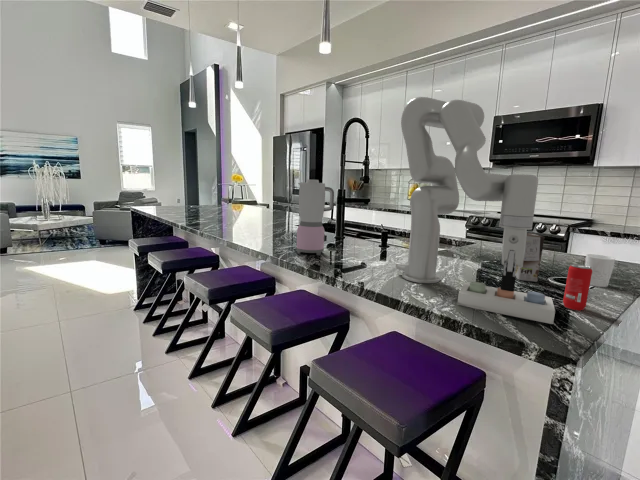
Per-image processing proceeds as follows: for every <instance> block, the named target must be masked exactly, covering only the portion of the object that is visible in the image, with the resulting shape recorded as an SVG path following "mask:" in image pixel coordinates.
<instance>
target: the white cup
mask: <svg viewBox="0 0 640 480" xmlns="http://www.w3.org/2000/svg"><path fill="white" fill-rule="evenodd" d="M615 262H616V258H615V257H611V256H608V255H601V254H591V253H590V254H586V255H585V263H584V265H586V266H590V267H592V276H591V281H590V286H592V287H597V288H608V286H609V283H610V279H611V277H612V273H613V270H614V265H615Z"/></svg>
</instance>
